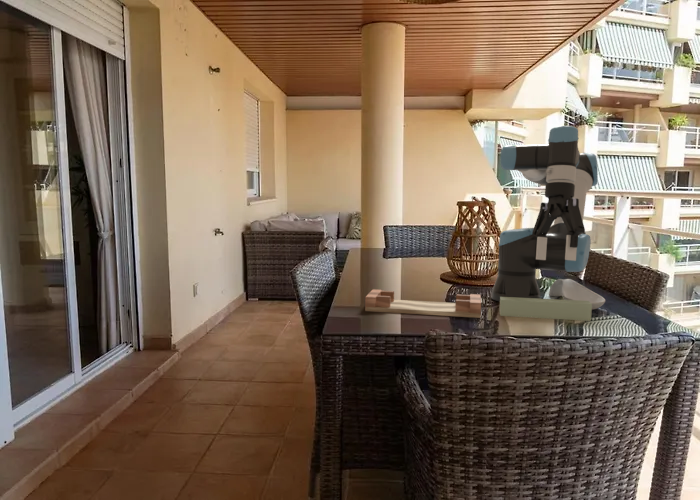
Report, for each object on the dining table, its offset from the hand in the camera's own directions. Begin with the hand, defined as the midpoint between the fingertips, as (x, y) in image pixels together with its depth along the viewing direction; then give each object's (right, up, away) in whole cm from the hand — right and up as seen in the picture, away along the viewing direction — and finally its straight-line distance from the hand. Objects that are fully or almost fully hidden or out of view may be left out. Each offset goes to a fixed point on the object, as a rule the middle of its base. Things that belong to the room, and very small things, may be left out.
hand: (554, 260), depth 141 cm
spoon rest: (+14, -15, +21) cm, 29 cm away
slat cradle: (-34, -15, +12) cm, 40 cm away
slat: (-1, -16, +5) cm, 17 cm away
